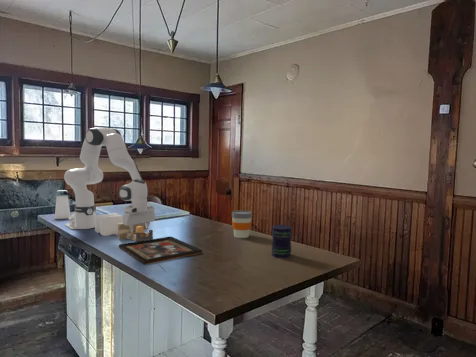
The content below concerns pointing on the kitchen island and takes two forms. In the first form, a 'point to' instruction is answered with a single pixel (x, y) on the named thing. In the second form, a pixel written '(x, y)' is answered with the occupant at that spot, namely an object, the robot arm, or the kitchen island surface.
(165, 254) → the framed icon painting
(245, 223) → the reusable coffee cup
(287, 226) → the storage jar
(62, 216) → the grater
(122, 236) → the wooden trestle bench
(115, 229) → the cable organizer
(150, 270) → the kitchen island surface
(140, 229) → the banded tan cylinder
